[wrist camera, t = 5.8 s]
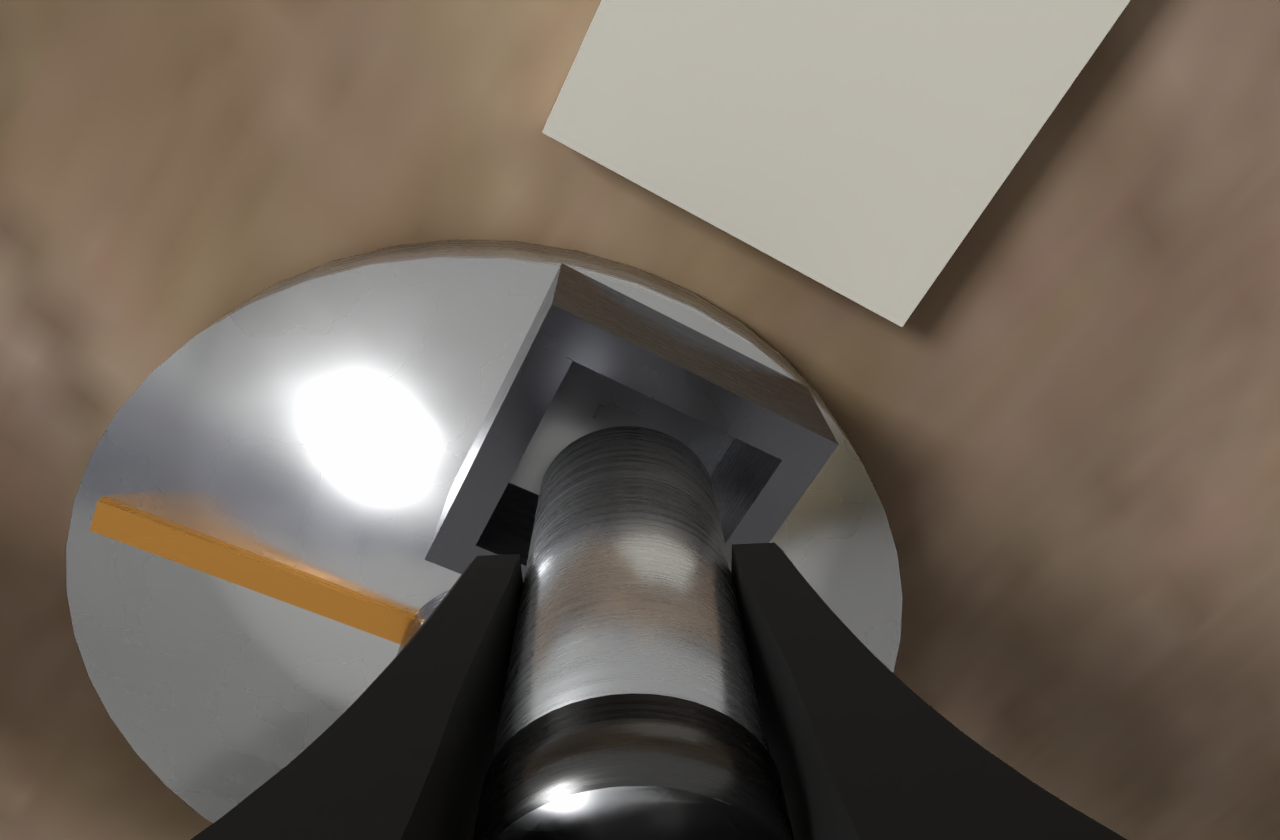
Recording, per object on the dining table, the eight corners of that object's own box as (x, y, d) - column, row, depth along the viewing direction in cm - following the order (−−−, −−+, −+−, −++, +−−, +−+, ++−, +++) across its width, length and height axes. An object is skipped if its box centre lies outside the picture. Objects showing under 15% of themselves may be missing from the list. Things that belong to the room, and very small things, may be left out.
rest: (546, 126, 15) (542, 131, 14) (767, -362, 12) (778, -393, 11) (887, 311, 17) (901, 327, 16) (1151, -75, 14) (1188, -83, 13)
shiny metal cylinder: (510, 548, 14) (421, 965, 8) (573, 396, 13) (529, 741, 6) (673, 600, 15) (717, 1029, 8) (747, 460, 13) (866, 834, 7)
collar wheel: (36, 742, 21) (-82, 884, 18) (233, 55, 14) (104, 62, 11) (657, 931, 26) (663, 1076, 22) (1043, 473, 19) (1146, 578, 15)
